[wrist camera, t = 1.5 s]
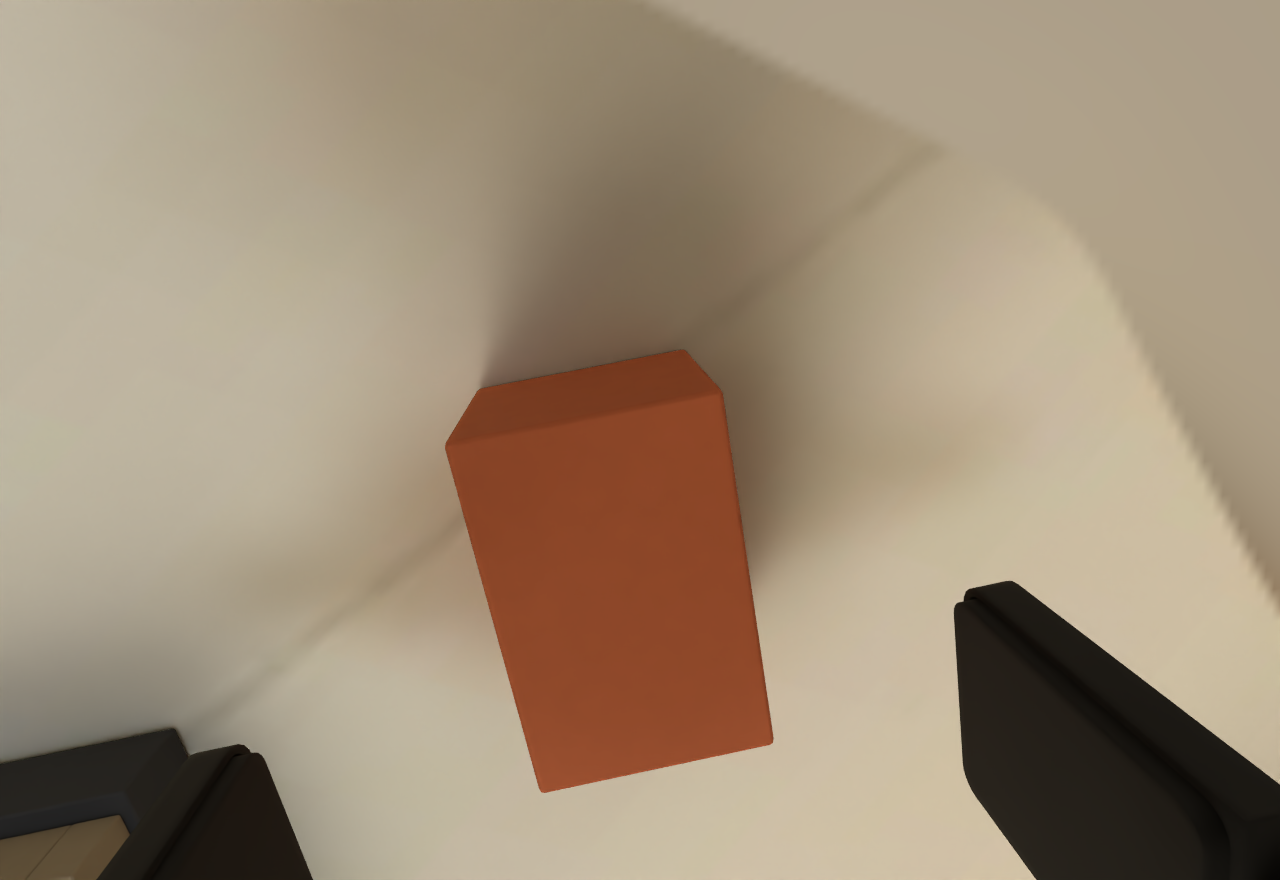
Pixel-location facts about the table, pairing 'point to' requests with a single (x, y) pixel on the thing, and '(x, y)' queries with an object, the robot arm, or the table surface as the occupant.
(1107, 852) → the robot arm
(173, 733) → the backrest board
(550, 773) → the orange rectangular block
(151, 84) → the table surface
